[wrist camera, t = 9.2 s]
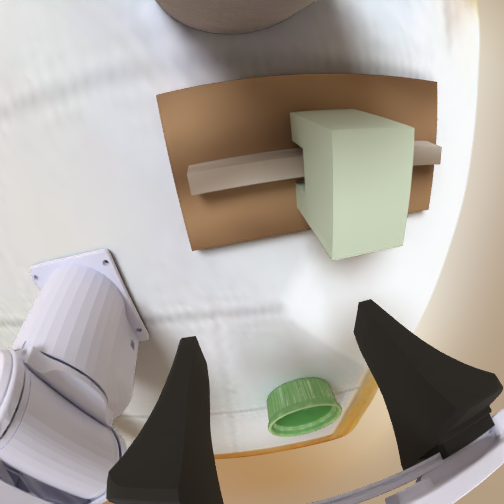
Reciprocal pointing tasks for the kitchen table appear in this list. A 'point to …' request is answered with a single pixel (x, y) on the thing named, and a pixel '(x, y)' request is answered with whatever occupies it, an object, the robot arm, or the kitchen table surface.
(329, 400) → the ramekin
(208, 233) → the cleat plank
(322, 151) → the notched block
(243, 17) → the pillar candle
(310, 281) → the kitchen table surface
